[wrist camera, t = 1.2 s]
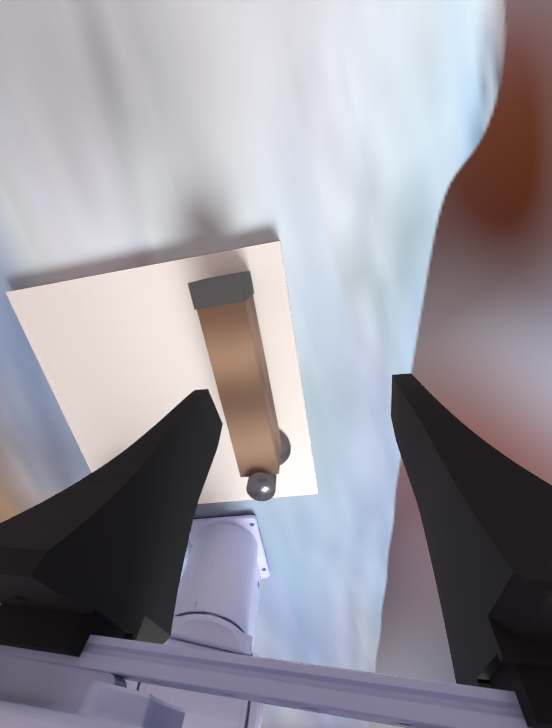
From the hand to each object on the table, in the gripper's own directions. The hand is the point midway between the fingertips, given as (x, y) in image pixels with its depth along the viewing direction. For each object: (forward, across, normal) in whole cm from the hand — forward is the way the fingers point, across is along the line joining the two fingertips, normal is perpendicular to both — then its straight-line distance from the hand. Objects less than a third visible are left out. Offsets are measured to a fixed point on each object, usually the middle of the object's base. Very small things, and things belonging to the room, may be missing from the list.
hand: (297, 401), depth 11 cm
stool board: (+10, +13, +8) cm, 18 cm away
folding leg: (+10, +5, +6) cm, 13 cm away
